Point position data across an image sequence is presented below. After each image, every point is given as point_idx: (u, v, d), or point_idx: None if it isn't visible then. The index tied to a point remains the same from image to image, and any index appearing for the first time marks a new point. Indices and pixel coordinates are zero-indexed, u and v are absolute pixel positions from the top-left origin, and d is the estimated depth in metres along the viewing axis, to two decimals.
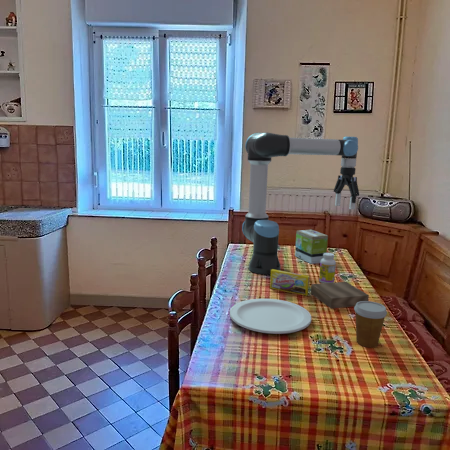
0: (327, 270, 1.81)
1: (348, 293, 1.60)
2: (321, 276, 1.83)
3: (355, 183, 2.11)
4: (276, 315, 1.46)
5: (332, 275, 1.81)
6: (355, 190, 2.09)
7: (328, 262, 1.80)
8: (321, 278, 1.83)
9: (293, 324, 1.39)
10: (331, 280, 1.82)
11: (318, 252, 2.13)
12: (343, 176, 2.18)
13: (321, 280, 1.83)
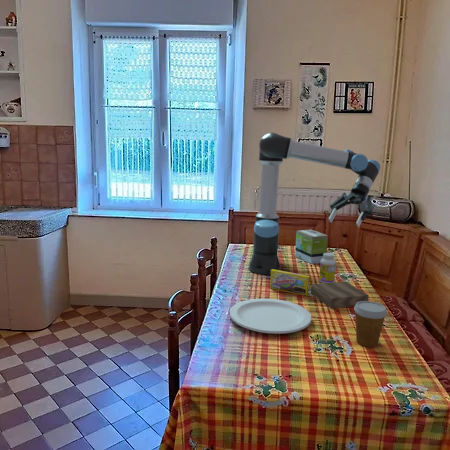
0: (327, 270, 1.81)
1: (348, 293, 1.60)
2: (321, 276, 1.83)
3: (370, 202, 1.88)
4: (276, 315, 1.46)
5: (332, 275, 1.81)
6: (370, 207, 1.85)
7: (328, 262, 1.80)
8: (321, 278, 1.83)
9: (293, 324, 1.39)
10: (331, 280, 1.82)
11: (318, 252, 2.13)
12: (353, 194, 1.94)
13: (321, 280, 1.83)
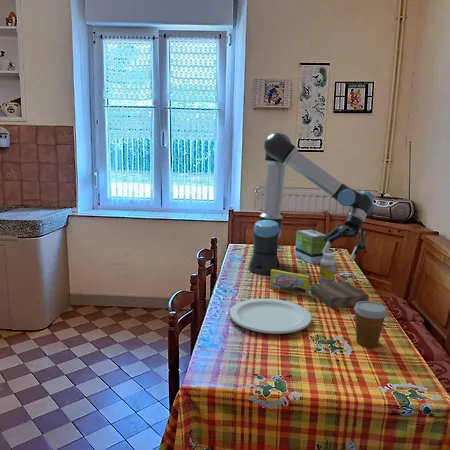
0: (327, 270, 1.81)
1: (348, 293, 1.60)
2: (321, 276, 1.83)
3: (364, 236, 1.86)
4: (276, 315, 1.46)
5: (332, 275, 1.81)
6: (364, 242, 1.83)
7: (328, 262, 1.80)
8: (321, 278, 1.83)
9: (293, 324, 1.39)
10: (331, 280, 1.82)
11: (318, 252, 2.13)
12: (346, 226, 1.92)
13: (321, 280, 1.83)
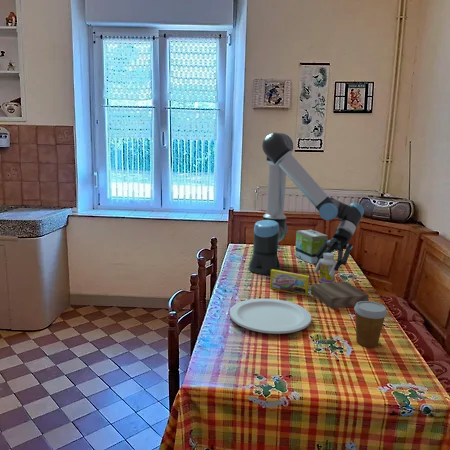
0: (327, 270, 1.81)
1: (348, 293, 1.60)
2: (321, 276, 1.83)
3: (349, 252, 1.82)
4: (276, 315, 1.46)
5: None
6: (345, 258, 1.80)
7: (328, 262, 1.80)
8: (321, 278, 1.83)
9: (293, 324, 1.39)
10: (331, 280, 1.82)
11: None
12: (335, 238, 1.89)
13: (321, 280, 1.83)
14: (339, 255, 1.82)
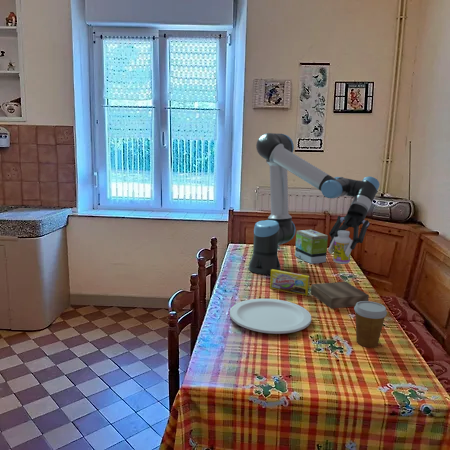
0: (343, 248, 1.66)
1: (348, 293, 1.60)
2: (336, 256, 1.68)
3: (365, 228, 1.68)
4: (276, 315, 1.46)
5: None
6: (362, 235, 1.66)
7: (343, 240, 1.66)
8: (335, 258, 1.68)
9: (293, 324, 1.39)
10: (347, 260, 1.67)
11: (318, 252, 2.13)
12: (349, 215, 1.74)
13: (336, 260, 1.68)
14: (355, 232, 1.67)
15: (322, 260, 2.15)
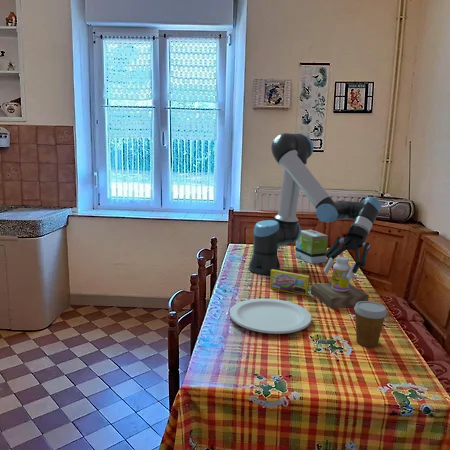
0: (341, 276, 1.59)
1: (348, 293, 1.60)
2: (334, 283, 1.62)
3: (367, 251, 1.61)
4: (276, 315, 1.46)
5: (346, 282, 1.60)
6: (365, 258, 1.58)
7: (342, 267, 1.59)
8: (333, 285, 1.62)
9: (293, 324, 1.39)
10: (345, 288, 1.61)
11: (318, 252, 2.13)
12: (349, 237, 1.67)
13: (334, 287, 1.62)
14: (357, 255, 1.60)
15: (322, 260, 2.15)
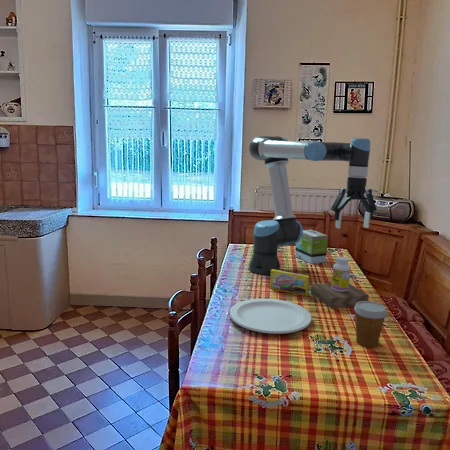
0: (341, 276, 1.59)
1: (348, 293, 1.60)
2: (334, 283, 1.62)
3: None
4: (276, 315, 1.46)
5: (346, 282, 1.60)
6: None
7: (342, 267, 1.59)
8: (333, 285, 1.62)
9: (293, 324, 1.39)
10: (345, 288, 1.60)
11: (318, 252, 2.13)
12: (353, 189, 1.69)
13: (334, 288, 1.62)
14: (368, 205, 1.73)
15: (322, 260, 2.15)
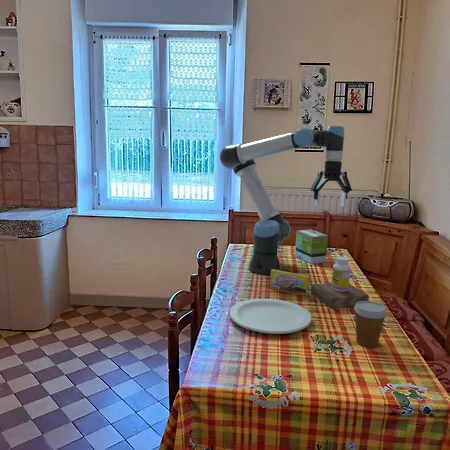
0: (341, 276, 1.59)
1: (348, 293, 1.60)
2: (334, 283, 1.62)
3: None
4: (276, 315, 1.46)
5: (346, 282, 1.60)
6: None
7: (342, 267, 1.59)
8: (333, 285, 1.62)
9: (293, 324, 1.39)
10: (345, 288, 1.60)
11: (318, 252, 2.13)
12: (330, 171, 1.89)
13: (334, 288, 1.62)
14: (344, 186, 1.93)
15: (322, 260, 2.15)
